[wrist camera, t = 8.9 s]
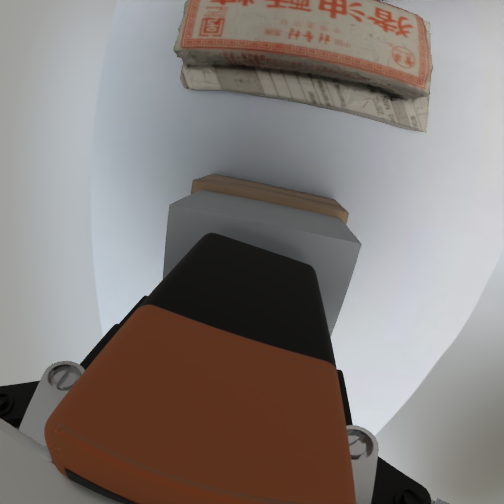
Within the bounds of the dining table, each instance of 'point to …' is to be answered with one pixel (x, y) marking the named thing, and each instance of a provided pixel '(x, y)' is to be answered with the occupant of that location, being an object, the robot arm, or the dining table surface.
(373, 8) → the packaged product
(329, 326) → the top block
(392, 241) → the dining table surface
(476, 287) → the dining table surface
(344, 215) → the bottom block
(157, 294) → the battery
